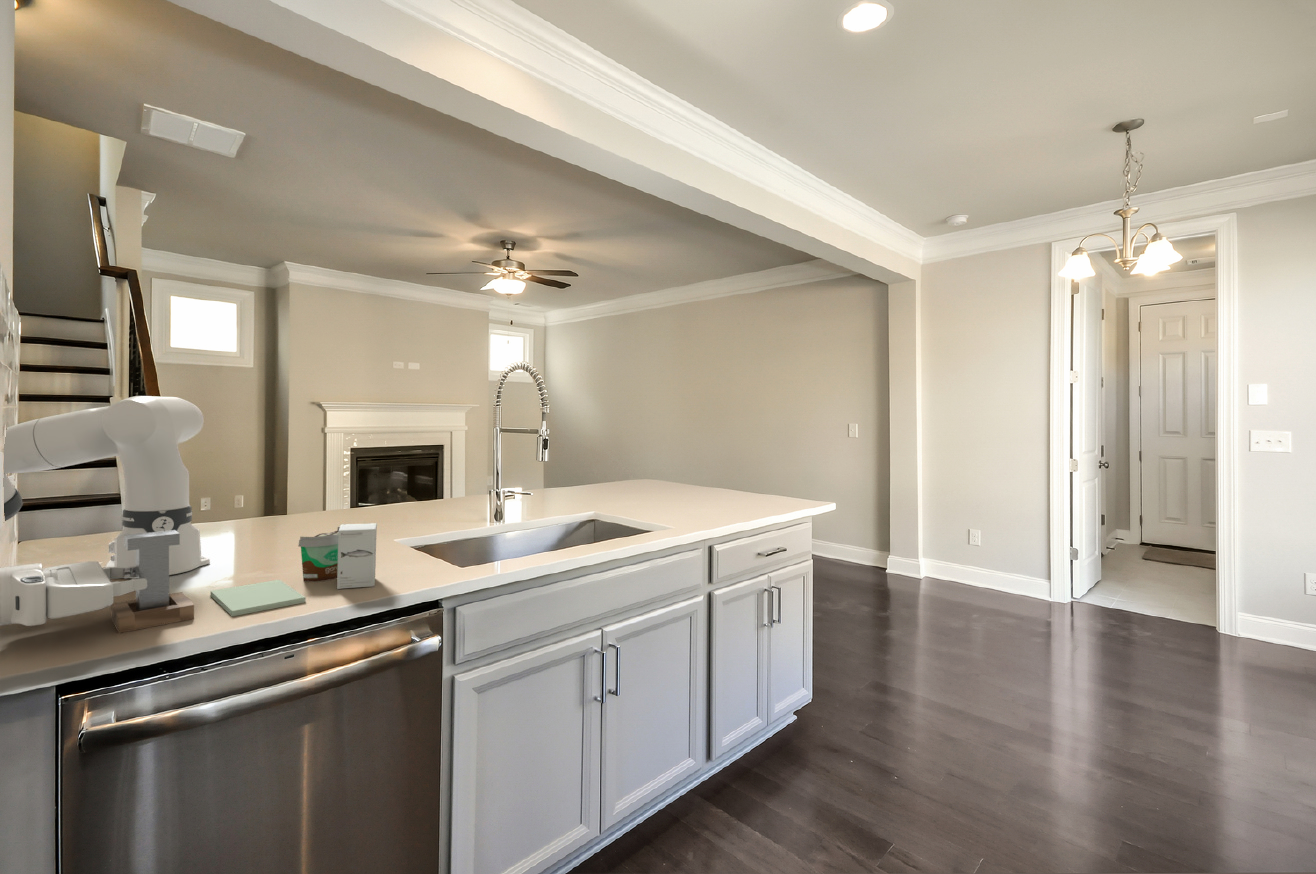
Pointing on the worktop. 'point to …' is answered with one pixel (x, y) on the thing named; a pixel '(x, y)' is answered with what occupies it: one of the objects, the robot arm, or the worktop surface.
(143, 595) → the t-key
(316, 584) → the worktop surface
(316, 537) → the food container
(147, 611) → the socket block
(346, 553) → the supplement box
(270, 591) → the green mat
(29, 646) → the worktop surface
